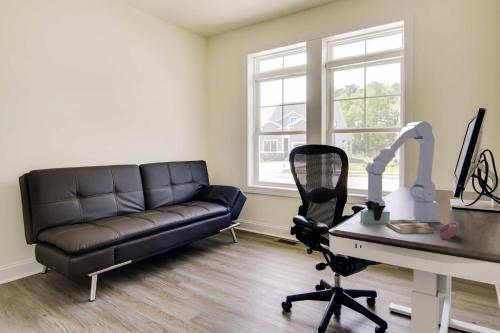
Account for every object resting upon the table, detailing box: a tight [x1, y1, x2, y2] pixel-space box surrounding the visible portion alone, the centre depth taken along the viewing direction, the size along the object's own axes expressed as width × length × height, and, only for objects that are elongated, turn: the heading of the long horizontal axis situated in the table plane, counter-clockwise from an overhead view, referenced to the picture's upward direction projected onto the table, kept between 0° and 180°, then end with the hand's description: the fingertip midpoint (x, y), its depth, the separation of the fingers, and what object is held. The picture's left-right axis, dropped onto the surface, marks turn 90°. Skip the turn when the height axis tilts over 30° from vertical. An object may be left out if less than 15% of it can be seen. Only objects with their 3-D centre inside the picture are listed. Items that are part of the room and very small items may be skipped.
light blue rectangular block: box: [360, 209, 391, 225], centre depth 131 cm, size 11×4×5 cm, turn 91°
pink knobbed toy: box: [439, 220, 461, 240], centre depth 109 cm, size 10×5×7 cm, turn 148°
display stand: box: [385, 218, 434, 234], centre depth 119 cm, size 13×11×3 cm
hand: (374, 218), depth 131 cm, fingers closed on light blue rectangular block, 4 cm apart
